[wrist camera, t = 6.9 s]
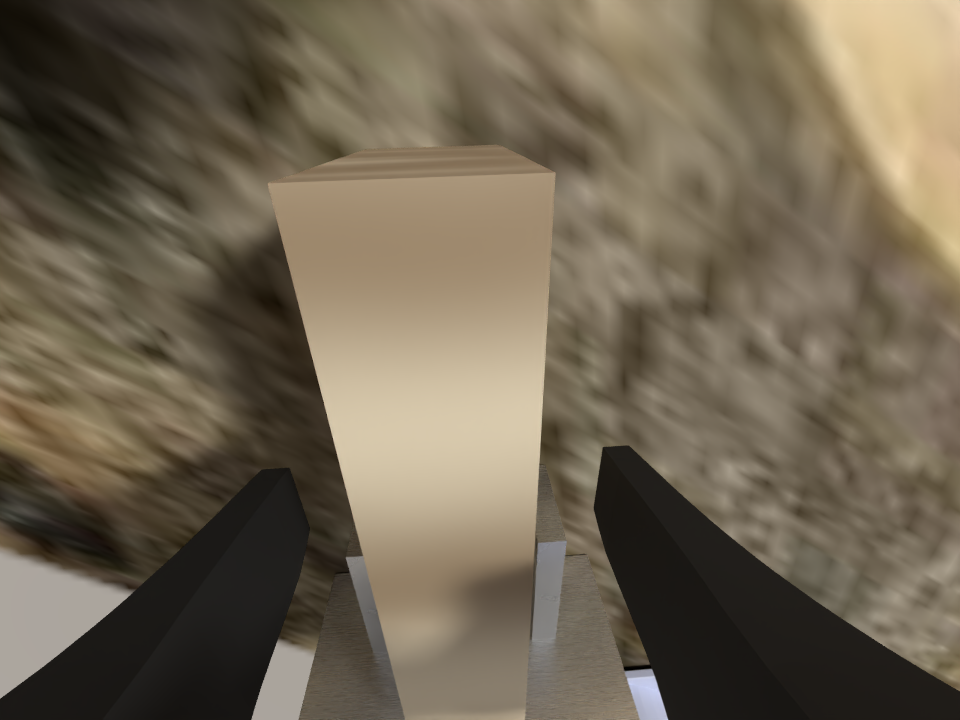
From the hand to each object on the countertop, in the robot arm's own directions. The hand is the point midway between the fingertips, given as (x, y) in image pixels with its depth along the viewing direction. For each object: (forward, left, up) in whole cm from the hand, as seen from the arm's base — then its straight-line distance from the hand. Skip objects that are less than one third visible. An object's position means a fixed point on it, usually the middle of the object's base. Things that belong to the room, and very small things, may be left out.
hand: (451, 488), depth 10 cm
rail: (0, 0, -4) cm, 4 cm away
